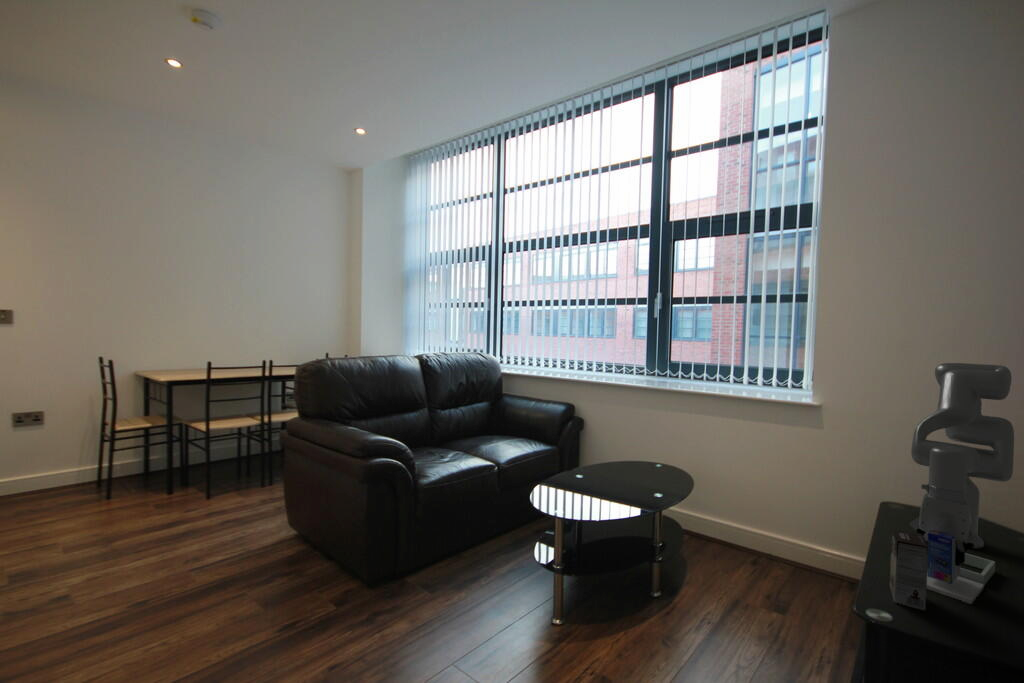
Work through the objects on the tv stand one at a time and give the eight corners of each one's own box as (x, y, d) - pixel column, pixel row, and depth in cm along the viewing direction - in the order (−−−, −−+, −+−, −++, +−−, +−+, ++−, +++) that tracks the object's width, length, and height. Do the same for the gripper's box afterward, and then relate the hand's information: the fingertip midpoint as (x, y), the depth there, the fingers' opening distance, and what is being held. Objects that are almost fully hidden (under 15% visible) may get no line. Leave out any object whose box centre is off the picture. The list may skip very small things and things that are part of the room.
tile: (917, 566, 139) (917, 562, 139) (983, 587, 128) (984, 584, 128) (901, 580, 131) (902, 576, 131) (971, 604, 119) (971, 600, 119)
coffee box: (888, 587, 127) (891, 527, 127) (919, 594, 123) (922, 533, 123) (893, 603, 119) (896, 539, 119) (927, 611, 116) (930, 546, 115)
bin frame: (924, 550, 149) (925, 541, 149) (994, 571, 137) (995, 561, 137) (910, 563, 141) (910, 553, 141) (983, 586, 128) (983, 575, 128)
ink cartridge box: (934, 565, 134) (936, 515, 134) (960, 574, 130) (963, 522, 130) (924, 576, 128) (927, 523, 128) (952, 585, 124) (955, 530, 124)
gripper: (902, 487, 133) (899, 550, 134) (987, 506, 120) (984, 577, 120) (910, 482, 138) (908, 544, 138) (994, 500, 124) (990, 569, 124)
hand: (943, 558), depth 129 cm, fingers closed on ink cartridge box, 5 cm apart
